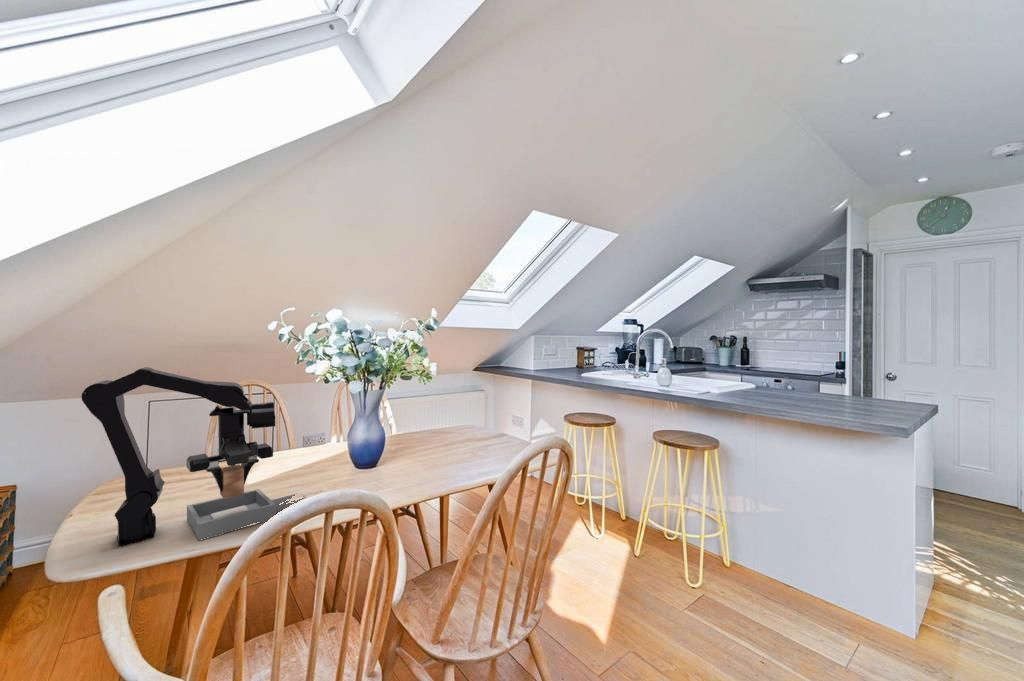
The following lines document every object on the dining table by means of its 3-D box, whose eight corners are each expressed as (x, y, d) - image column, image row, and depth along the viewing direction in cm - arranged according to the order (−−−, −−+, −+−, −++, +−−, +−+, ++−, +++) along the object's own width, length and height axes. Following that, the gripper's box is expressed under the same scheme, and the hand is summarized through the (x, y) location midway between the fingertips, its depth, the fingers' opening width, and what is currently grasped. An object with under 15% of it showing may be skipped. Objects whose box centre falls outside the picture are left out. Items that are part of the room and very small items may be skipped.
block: (224, 499, 111) (223, 472, 111) (220, 494, 114) (219, 468, 114) (244, 494, 114) (243, 468, 114) (239, 489, 117) (239, 464, 117)
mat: (274, 515, 117) (274, 513, 117) (263, 504, 124) (263, 502, 124) (312, 504, 125) (312, 502, 125) (299, 494, 132) (299, 492, 132)
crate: (198, 541, 103) (198, 524, 103) (187, 520, 114) (186, 505, 113) (275, 518, 115) (275, 504, 115) (258, 502, 126) (258, 488, 126)
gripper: (194, 443, 101) (195, 508, 102) (279, 430, 115) (280, 487, 115) (185, 434, 109) (186, 494, 110) (266, 423, 122) (266, 476, 123)
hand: (231, 488), depth 114 cm, fingers closed on block, 4 cm apart
